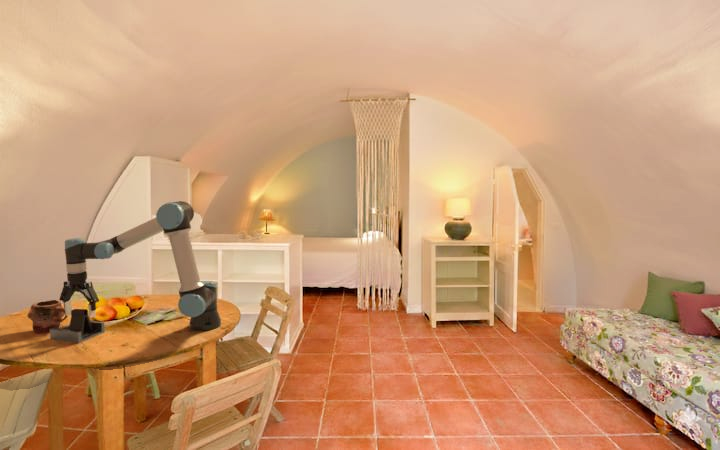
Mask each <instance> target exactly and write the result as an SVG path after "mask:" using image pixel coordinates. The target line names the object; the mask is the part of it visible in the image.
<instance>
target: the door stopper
mask: <svg viewBox="0 0 720 450" xmlns="http://www.w3.org/2000/svg"><path fill="white" fill-rule="evenodd" d="M70 316H71V317H70V323H69V324H70V326H69V330H73V331H81V337H83V336H85V335H87V334H89V333H90V332H92V331H93V327H92V324H91V322H90V321H91V320H90V319H91V318H89V309H87V308H80V309H79V308H74V309H72V311H71V315H70Z"/></svg>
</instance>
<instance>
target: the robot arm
mask: <svg viewBox="0 0 720 450" xmlns="http://www.w3.org/2000/svg"><path fill="white" fill-rule="evenodd" d="M194 215H195V210H194V208H193V206H192V205H191V204H189V203H188V202H187V201H181V200H179V201H172V202H171V201H169V202H166V203H164V204H162V205H161V206H159V208H158V209H157V211H156V215H155V216H156V217H154V218H152V219H149V220H147V221H146V222H143V223H141V224H139V225H137V226H135V227H133V228H131V229H129V230H126V231H123V232H122V233H120V234H118V235H115V236H113V237H111V238H109V239H106V240H102V241H99V242H98V241H97V242H85V239H84V238H80V237H77V238H76V237H75V238H68V239H65V241H64V253H65V261H66V263H65V264H66V265H65V267H66V272H67V273H66V274H67V275H66V279H67V281H63V287H62V290H61V293H60V296H59V300H58V301H60V302H61V301H62V303H63V308H65V314H64V316H65V315H66V316H71V311H72V310H73V309H72V300H71V298H72V297H73V295H74V294H75V292H77V293H80V294H82V295H83V297H84V298H85V300H87V302H88V304H87V305H88V306H87V307H88V316H89V319H92V318H95V317H96V310H97V307H96V306H97V305H96V303H98V302H100V298H99V297H98V295H97V293H96V291H95V289H94V285H93V282H92V281H90V282H87V279H88V272H87V260H106V259H110V258H112V256H113V255H115V254H119V253H121V252H123V251H124V250H126V249H128V248H131V247H132V246H135V245H136V244H138V243H141V242H143V241H145V240H147V239H149V238H151V237H154V236H156V235H158V234H160V233H162V232H163V234H164V235H166V236H167V237H168V238H169V243H170V247H171V250H172V251H171V252H172V255H173V259H174V263H175V267H176V272H177V275H178V281H179V284H180V287H179V289H178V294H179V299H178V303H177V308H178V310H179V311H180V313H181V314H182V315H183V316H185V317H188V318H190V320H189V326H188V327H189V329H191V330H193V331H201V332H203V331H209V330H213V329H217V328H219V327H220V326H221V324H222V318H221V316H220V314H219V312H218V311H219V310H218V292H217V291H218V290H217V289H218V286H217V282H215V281H213V280H201V279H200V275H199V270H198V267H197V263H196V258H195V254H194V251H193V245H192V241H191V237H190V233H189V232H190V230H191V229H192V226H191V221H193V219H194V217H195V216H194Z"/></svg>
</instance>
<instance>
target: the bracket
mask: <svg viewBox="0 0 720 450" xmlns="http://www.w3.org/2000/svg"><path fill="white" fill-rule="evenodd" d="M90 322H91V324H92V327H93V331H92V332H90V333H89V334H87V335H85V336H83V337H81V331H73V330H69V326H70V323H68V324H65V325H64V326H60V327H59V328H57V329H56V328H52V329H50V333H49V340H51V341H58V342H64V343H65V342H66V343H73V344H80V343H83V342H85V341H87V340H90V339H93V338H95V337H96V336H99V335H102V334H104V333H105V332H106V330H105V322H104V321H96V320H90Z"/></svg>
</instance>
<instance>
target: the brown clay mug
mask: <svg viewBox="0 0 720 450" xmlns="http://www.w3.org/2000/svg"><path fill="white" fill-rule="evenodd" d="M68 316H69V315H68ZM68 316H66V315H65V308H64V306H63V305H62V303H61V301H60V300H56V299H52V300H45V301H38V302H35V303H32V305H30V309H29V310H28V314H27V318H28V319H29V320H31V321H32V330H33V332H34V333H35V334H39V335H40V334H41V335H43V334H50V329H52V328H56V329H57V328H60V327H61V326H60V325H61V323H63V322H64V321H65V320H66V319H67V318H68Z"/></svg>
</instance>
